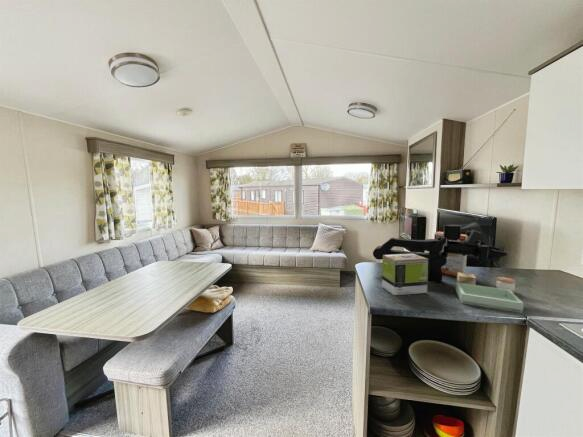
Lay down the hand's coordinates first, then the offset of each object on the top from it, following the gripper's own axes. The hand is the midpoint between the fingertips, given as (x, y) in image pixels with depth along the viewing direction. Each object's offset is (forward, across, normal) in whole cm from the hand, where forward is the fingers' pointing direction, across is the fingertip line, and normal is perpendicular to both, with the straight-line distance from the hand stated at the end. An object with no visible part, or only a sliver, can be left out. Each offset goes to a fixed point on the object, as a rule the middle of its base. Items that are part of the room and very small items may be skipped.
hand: (503, 251), depth 108 cm
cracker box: (-17, +16, +17) cm, 29 cm away
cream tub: (+2, -1, +17) cm, 17 cm away
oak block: (-12, -1, +17) cm, 21 cm away
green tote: (-8, -17, +16) cm, 25 cm away
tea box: (-37, -20, +17) cm, 46 cm away
